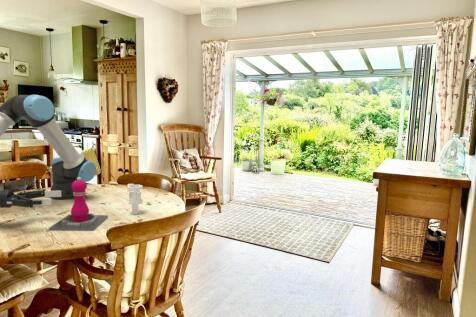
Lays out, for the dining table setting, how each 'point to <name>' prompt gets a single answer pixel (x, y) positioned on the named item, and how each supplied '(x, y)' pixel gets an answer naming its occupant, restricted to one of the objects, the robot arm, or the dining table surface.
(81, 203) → the pepper mill
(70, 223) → the collar plate
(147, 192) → the dining table surface
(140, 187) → the white blocky figurine
